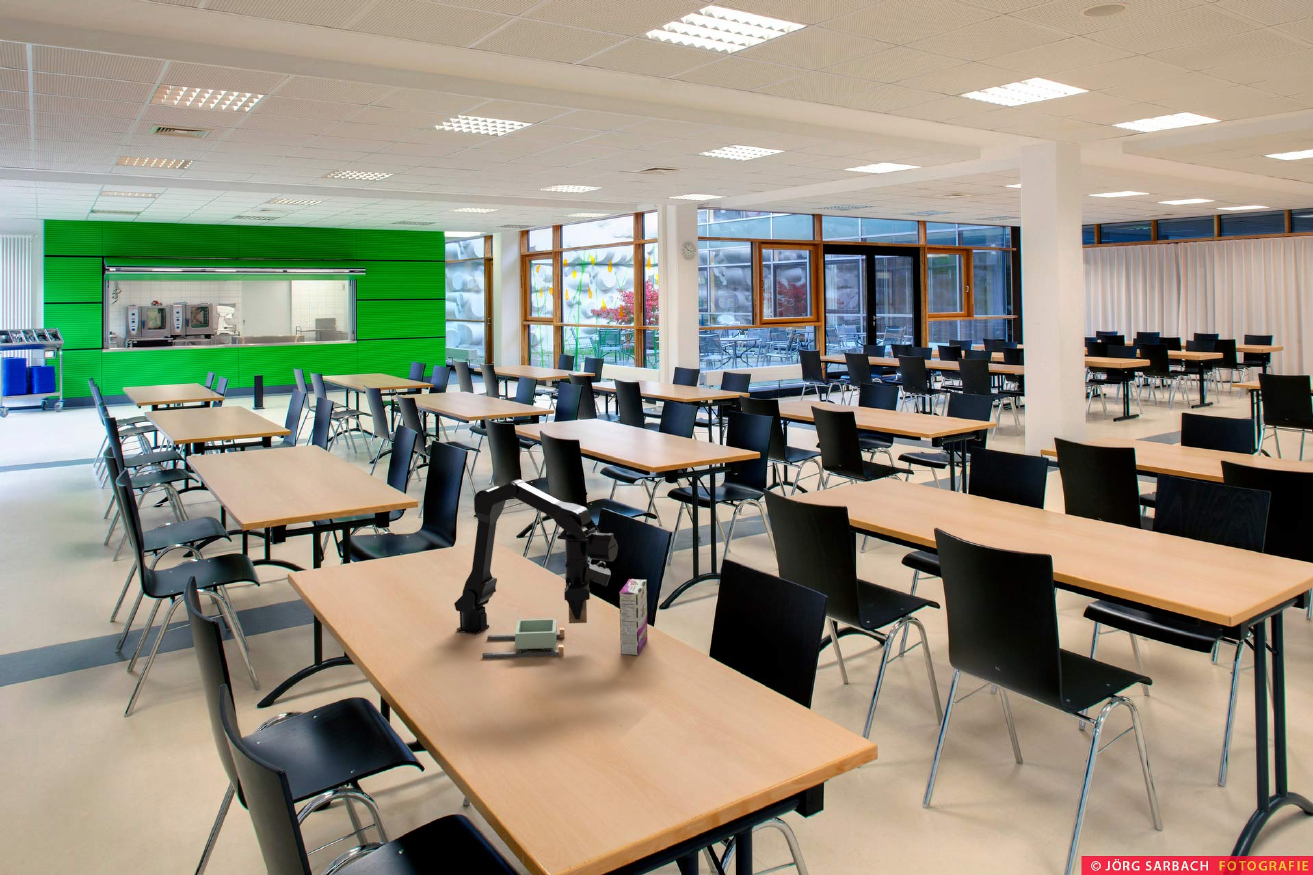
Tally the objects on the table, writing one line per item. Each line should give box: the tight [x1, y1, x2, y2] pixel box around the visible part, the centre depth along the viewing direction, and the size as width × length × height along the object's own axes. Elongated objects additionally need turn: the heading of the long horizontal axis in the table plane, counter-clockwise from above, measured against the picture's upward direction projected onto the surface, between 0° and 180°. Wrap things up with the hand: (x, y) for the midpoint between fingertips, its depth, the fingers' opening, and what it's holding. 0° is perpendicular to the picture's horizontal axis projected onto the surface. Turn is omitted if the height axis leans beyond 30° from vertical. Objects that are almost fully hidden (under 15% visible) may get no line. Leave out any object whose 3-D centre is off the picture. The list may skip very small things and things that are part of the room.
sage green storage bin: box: [514, 618, 558, 652], centre depth 228 cm, size 10×10×5 cm
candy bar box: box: [618, 578, 648, 656], centre depth 227 cm, size 11×5×16 cm, turn 168°
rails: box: [481, 627, 566, 660], centre depth 228 cm, size 20×13×2 cm, turn 95°
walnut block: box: [568, 600, 588, 624], centre depth 228 cm, size 4×4×6 cm
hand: (577, 615), depth 228 cm, fingers closed on walnut block, 4 cm apart
